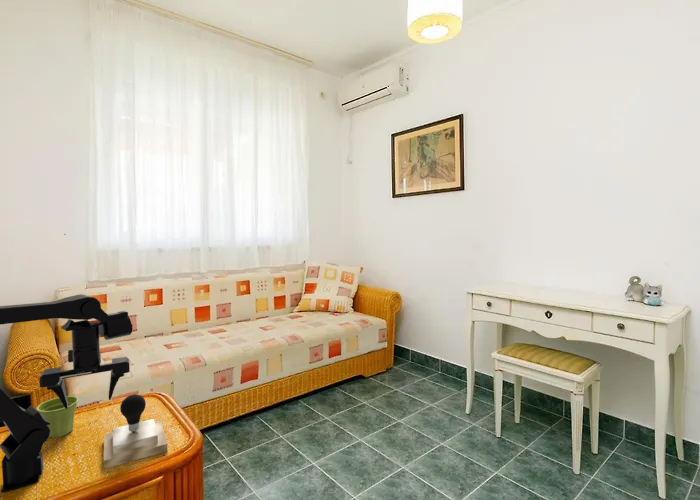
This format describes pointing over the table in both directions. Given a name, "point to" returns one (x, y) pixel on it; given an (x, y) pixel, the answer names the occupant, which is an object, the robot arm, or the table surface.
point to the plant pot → (58, 415)
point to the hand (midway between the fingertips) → (88, 403)
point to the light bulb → (133, 410)
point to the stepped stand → (134, 443)
